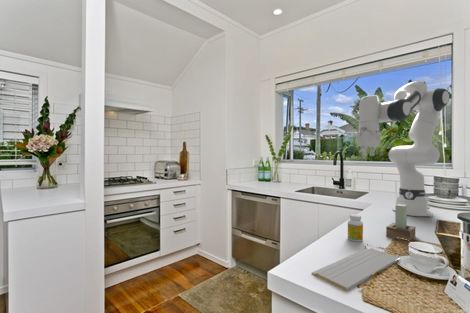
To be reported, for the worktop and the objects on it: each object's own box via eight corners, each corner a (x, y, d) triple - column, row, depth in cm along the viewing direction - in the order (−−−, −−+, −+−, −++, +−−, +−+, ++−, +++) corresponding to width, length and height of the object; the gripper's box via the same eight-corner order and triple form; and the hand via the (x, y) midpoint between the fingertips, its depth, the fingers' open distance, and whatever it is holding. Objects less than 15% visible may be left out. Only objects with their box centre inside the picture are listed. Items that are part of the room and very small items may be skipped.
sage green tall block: (398, 232, 101) (398, 203, 101) (406, 233, 99) (406, 205, 99) (395, 234, 99) (395, 205, 98) (403, 236, 96) (404, 206, 96)
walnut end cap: (393, 231, 105) (393, 222, 105) (415, 236, 99) (415, 226, 99) (386, 236, 99) (386, 226, 99) (409, 241, 93) (409, 231, 93)
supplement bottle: (348, 240, 94) (348, 216, 93) (347, 236, 99) (347, 213, 98) (363, 242, 92) (364, 217, 91) (361, 238, 97) (362, 214, 96)
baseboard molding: (307, 273, 69) (347, 294, 59) (307, 263, 69) (347, 282, 59) (362, 249, 87) (400, 262, 77) (362, 241, 87) (400, 253, 77)
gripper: (367, 126, 110) (367, 156, 110) (382, 129, 123) (382, 155, 123) (353, 127, 114) (353, 156, 114) (369, 130, 128) (369, 155, 128)
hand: (368, 155), depth 119 cm, fingers open, 8 cm apart
